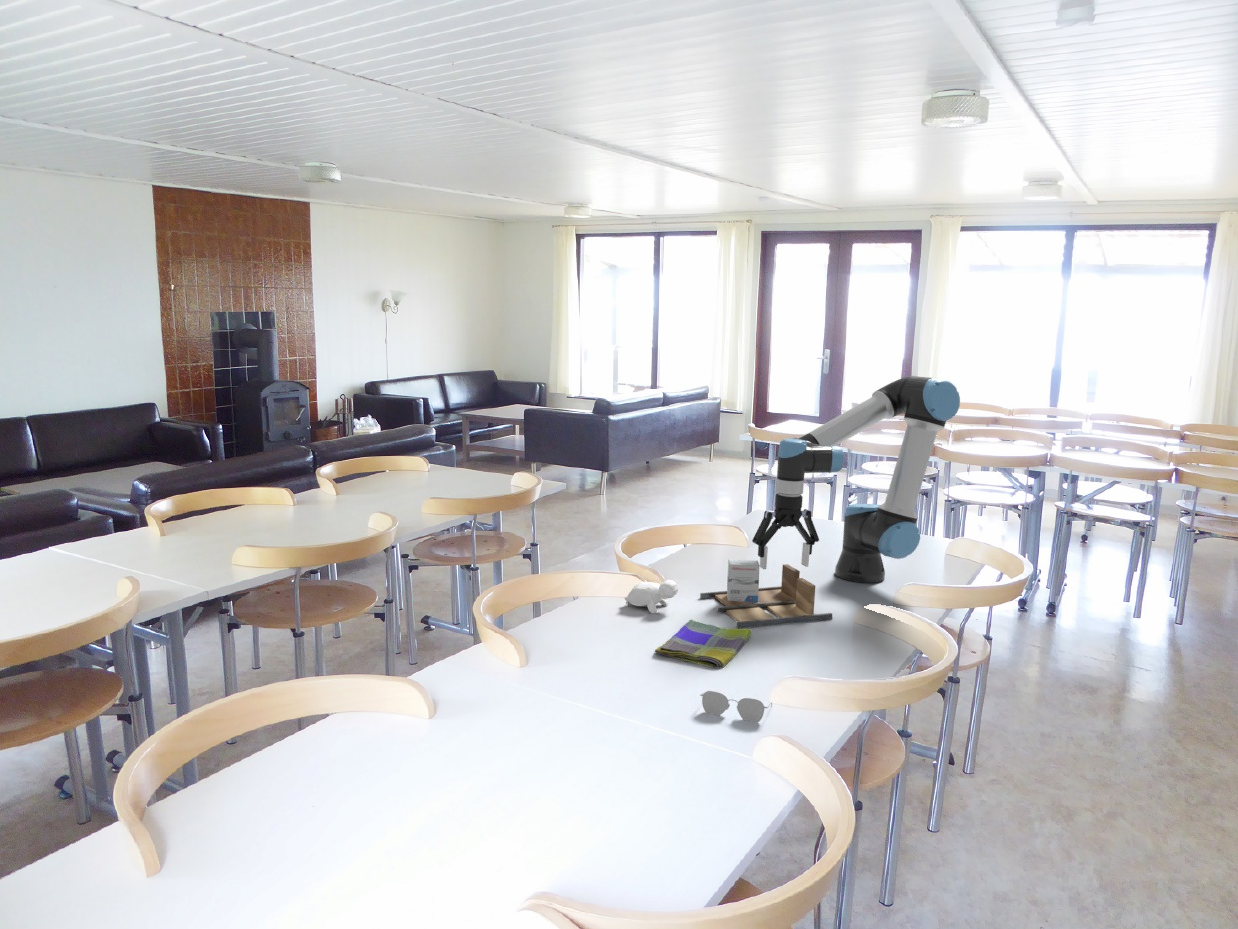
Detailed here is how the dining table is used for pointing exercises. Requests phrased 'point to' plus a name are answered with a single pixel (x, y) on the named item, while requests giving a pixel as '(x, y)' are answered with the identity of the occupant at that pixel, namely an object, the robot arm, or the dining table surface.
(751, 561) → the ink box
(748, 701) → the sunglasses
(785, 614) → the wooden l-shaped stand
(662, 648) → the dish towel
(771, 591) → the tan wooden holder
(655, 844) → the dining table surface
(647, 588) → the white animal figurine
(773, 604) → the lane rails
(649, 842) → the dining table surface
